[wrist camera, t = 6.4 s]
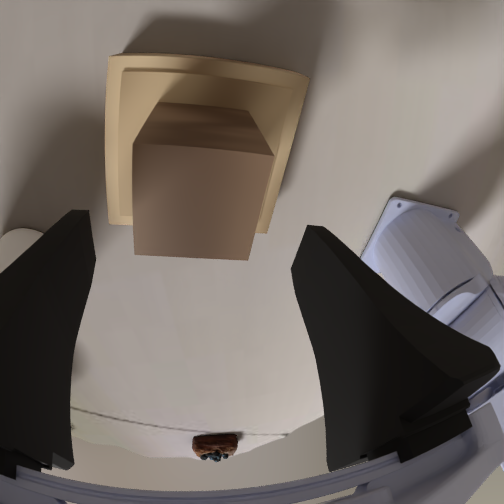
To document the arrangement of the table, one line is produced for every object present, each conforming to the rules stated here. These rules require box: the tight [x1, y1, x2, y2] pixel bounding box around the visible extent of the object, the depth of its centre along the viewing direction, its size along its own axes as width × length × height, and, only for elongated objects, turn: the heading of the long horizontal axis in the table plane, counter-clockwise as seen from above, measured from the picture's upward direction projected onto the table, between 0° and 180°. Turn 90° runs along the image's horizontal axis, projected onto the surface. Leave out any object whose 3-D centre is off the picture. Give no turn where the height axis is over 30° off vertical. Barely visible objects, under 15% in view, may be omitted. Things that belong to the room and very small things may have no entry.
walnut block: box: [132, 102, 275, 260], centre depth 12 cm, size 4×4×6 cm
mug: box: [0, 228, 43, 273], centre depth 16 cm, size 12×8×10 cm
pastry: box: [192, 434, 238, 462], centre depth 59 cm, size 11×12×6 cm
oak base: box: [105, 53, 310, 233], centre depth 16 cm, size 10×10×3 cm
